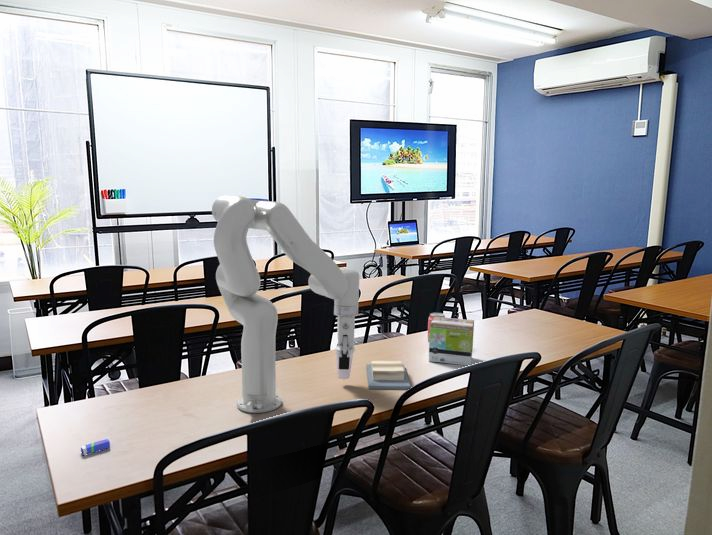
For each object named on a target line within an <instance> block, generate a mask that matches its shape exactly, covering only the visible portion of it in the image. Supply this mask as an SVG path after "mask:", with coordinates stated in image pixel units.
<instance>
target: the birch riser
mask: <svg viewBox="0 0 712 535" xmlns="http://www.w3.org/2000/svg"><path fill="white" fill-rule="evenodd" d="M370 364H371V370H372V378H373V380H404V369H403V366H402V364H403V363H402V360H371V362H370Z"/></svg>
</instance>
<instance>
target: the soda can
mask: <svg viewBox="0 0 712 535" xmlns="http://www.w3.org/2000/svg"><path fill="white" fill-rule="evenodd" d="M434 317H444V318H446V315H445V313H442V312H431V313H429V316H428V321H427V342H428V343H429V341H430V324H431V322H432V320H433V318H434Z"/></svg>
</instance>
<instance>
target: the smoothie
mask: <svg viewBox="0 0 712 535" xmlns="http://www.w3.org/2000/svg"><path fill="white" fill-rule="evenodd" d="M342 347H343V345H342ZM347 347H348V345H347ZM342 350H343V349H342ZM334 352H335V361H336V363H335V364H336V371H337V378H338V379H341V380H348V379H349V378H350V376H351V375H350V374H351V369H352V365H353V359H354V358H353V357H354V352H356V351H355V346H354V347H353V348H352V347H350V346H349V357H350V360H349V369H348V370H346V369H339V356H340V348H339V347H338V344H337V345H335V346H334Z"/></svg>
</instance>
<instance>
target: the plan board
mask: <svg viewBox="0 0 712 535" xmlns="http://www.w3.org/2000/svg"><path fill="white" fill-rule="evenodd" d="M402 366H403V369H404V380H373V378H372V370H371V363H367V364H366V366H365V367H366V376H367V386H368V389H369V390H409V389H408V388H410V389H411V383H410V381H409V377H408V375H407V370H406V368H405V364H403V363H402Z"/></svg>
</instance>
